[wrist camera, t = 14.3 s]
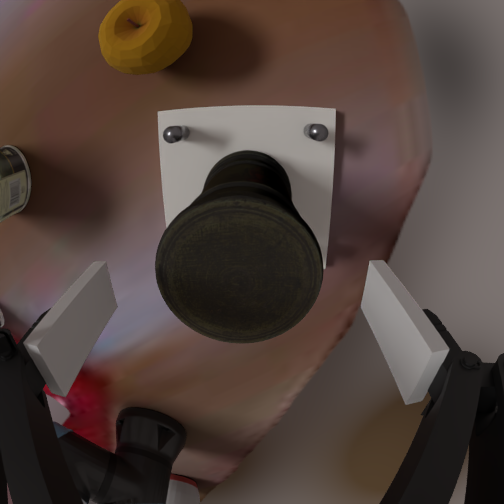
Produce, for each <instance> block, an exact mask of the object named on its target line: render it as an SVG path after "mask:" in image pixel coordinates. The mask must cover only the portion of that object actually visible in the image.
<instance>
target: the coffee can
mask: <svg viewBox="0 0 504 504" xmlns="http://www.w3.org/2000/svg"><path fill="white" fill-rule="evenodd" d="M30 191H31V175H30V169H29V166H28V163H27V161H26V159H25V157H24V155H23V154H22V153H21V151H20V150H19V149H17V148H16V147H14V146H10V145H7V146H3V147H1V148H0V222H2V221H3V220H5V219H7V218H8V217H10V216H12V215H14V214H16V213H19V212H20V211H22V210H23V209H24V207H25V206H26V204H27V202H28V200H29V197H30Z"/></svg>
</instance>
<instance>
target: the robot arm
mask: <svg viewBox="0 0 504 504" xmlns="http://www.w3.org/2000/svg"><path fill="white" fill-rule="evenodd" d="M117 307H118V306H117V303H116V299H115V295H114V292H113V288H112V284H111V280H110V276H109V272H108V267H107V263H106V262H100V261H94V262H93V263H92V264H91V265H90V266H89V267H88V268H87V269H86V270H85V271H84V272H83V274H82V275H81V276H80V277H79V278H78V279H77V280H76V281H75V282H74V283H73V284H72V285H71V287H70V288H69V289H68V290H67V291H66V292H65V293H64V294H63V295H62V297H61V298H60V299H59V300H58V301H57V302H56V303H55V305H54V306H53V307H52V308H50V309H49V310H47V311H46V312H44V313H43V314H42V315H41V316H40V317H39V318H38V319H37V321H36V322H35V323H34V324H33V325H32V328H30V329H29V330H28V332H27V333H26V334H25V335H24V336H23V338H22V339H21V340H20V342H19V343H18V344H16V342H15V340H14V338H13V336H12V334H11V332H10V331H9V330H8V329H0V504H8V496H7V483H8V487H9V491H10V495H11V499H12V502H13V504H88V503H89V500H91V501H93V502H95V503H97V504H166V500H167V494H168V488H169V482H170V476H171V470H172V465H173V463H174V461H175V460H176V458H177V456H178V455H179V453H180V452H181V450H182V449H183V447H184V445H185V441H186V436H187V434H186V431H185V429H184V428H183V427H182V426H181V425H180V424H179V423H178V422H176V421H175V420H173V419H172V418H170V417H168V416H166V415H164V414H161V413H158V412H155V411H152V410H148V409H143V408H126V409H123V410H122V411H120V413H119V415H118V417H117V420H116V441H117V447H116V450H115V454H114V453H112V452H110V451H108V450H106V449H104V448H102V447H100V446H98V445H96V444H94V443H92V442H90V441H89V440H87V439H85V438H83V437H82V436H80V435H78V434H77V433H75V432H73V430H71V429H67V428H66V427H64V426H62V425H60V424H59V423H57V422H53V421H52V417H51V414H50V410H49V406H48V402H47V397H46V394H45V392H44V390H43V388H44V386H45V384H47V386H48V388H49V389H50V391H51V392H52V393H54V394H57V395H61V396H64V397H66V395H67V393H68V391H69V389H70V388H71V386H72V384H73V382H74V380H75V378H76V376H77V375H78V373H79V371H80V369H81V367H82V365H83V364H84V362H85V360H86V358H87V357H88V355H89V353H90V351H91V350H92V348H93V346H94V344H95V343H96V341H97V339H98V338H99V336H100V334H101V333H102V331H103V329H104V328H105V326H106V324H107V323H108V321H109V319H110V318H111V316H112V315H113V313H114V311H115V310H116V308H117ZM361 309H362V311H363V313H364V315H365V317H366V319H367V321H368V323H369V325H370V327H371V329H372V331H373V333H374V335H375V337H376V340H377V342H378V344H379V346H380V348H381V350H382V352H383V354H384V357H385V359H386V361H387V363H388V365H389V367H390V370H391V372H392V374H393V377H394V379H395V381H396V383H397V386H398V388H399V390H400V393H401V395H402V397H403V400H404V402H405V404H411V403H415V402H420V401H422V400H423V398H424V397H425V395H426V393H427V391H428V392H429V394H430V396H431V400H430V401H429V403H428V404H427V406H426V408H425V409H424V411H423V412H422V414H421V415H423V418H422V421H421V423H420V425H419V428H418V430H417V432H416V435H415V437H414V439H413V441H412V444H411V446H410V448H409V450H408V453H407V455H406V457H405V458H404V461H403V462H402V464H401V466H400V468H399V471H398V472H397V474H396V476H395V478H394V480H393V481H392V483H391V485H390V487H389V488H388V490H387V492H386V494H385V495H384V497H383V499H382V500H381V502H380V504H448V503H449V501H450V498H451V496H452V494H453V491H454V488H455V486H456V483H457V480H458V477H459V474H460V472H461V468H462V465H463V462H464V459H465V455H466V452H467V449H468V445H469V463H468V475H467V487H466V494H465V502H464V504H504V353H503V354H501V355H500V356H499V357H498V359H497V361H496V363H482V361H481V359H480V358H479V357H478V356H477V355H476V354H474V353H471V352H468V351H462V350H461V349H460V347H459V346H458V344H457V343H456V341H455V340H454V339H453V337H452V336H451V334H450V333H449V332H448V331H447V330H446V328H445V326H444V325H442V322H441V321H440V320H439V319H438V317H437V316H436V315H435V314H434V313H432V312H431V311H430V310H428V309H423V310H422V309H421V308H420V306H419V305H418V304H417V302H416V301H415V300H414V298H413V297H412V296H411V294H410V293H409V292H408V291H407V289H406V288H405V287H404V285H403V284H402V283H401V282H400V280H399V279H398V278H397V276H396V275H395V274H394V273H393V271H392V270H391V269H390V268H389V266H388V265H387V264H386V263H385V262H384V260H370V261H369V267H368V273H367V278H366V283H365V288H364V293H363V298H362V303H361Z"/></svg>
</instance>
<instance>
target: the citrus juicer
mask: <svg viewBox="0 0 504 504" xmlns="http://www.w3.org/2000/svg"><path fill="white" fill-rule="evenodd" d="M166 504H200V498H199V492H198V487H197V484H196V482H194V481H193V480H191V479H188V478H186V477H182V476H178V475H175V474H171V476H170V482H169V488H168V494H167V500H166Z"/></svg>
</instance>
